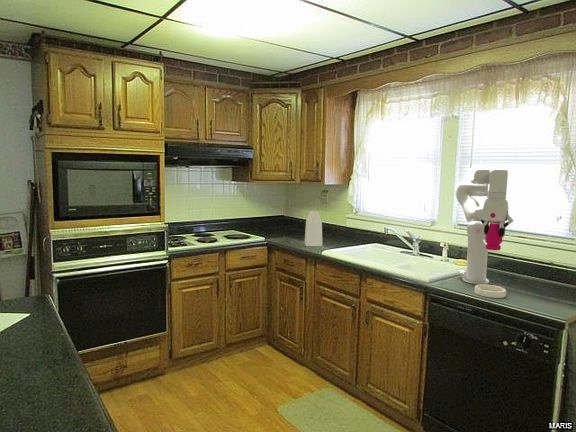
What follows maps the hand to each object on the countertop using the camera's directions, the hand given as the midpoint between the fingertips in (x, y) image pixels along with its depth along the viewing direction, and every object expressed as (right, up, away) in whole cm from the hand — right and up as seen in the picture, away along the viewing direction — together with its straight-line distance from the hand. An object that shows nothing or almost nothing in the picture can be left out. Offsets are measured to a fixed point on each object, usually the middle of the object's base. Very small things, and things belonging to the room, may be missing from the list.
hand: (494, 235), depth 189 cm
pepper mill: (0, -7, +1) cm, 7 cm away
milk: (-76, -14, +114) cm, 138 cm away
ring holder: (0, -28, +3) cm, 28 cm away
